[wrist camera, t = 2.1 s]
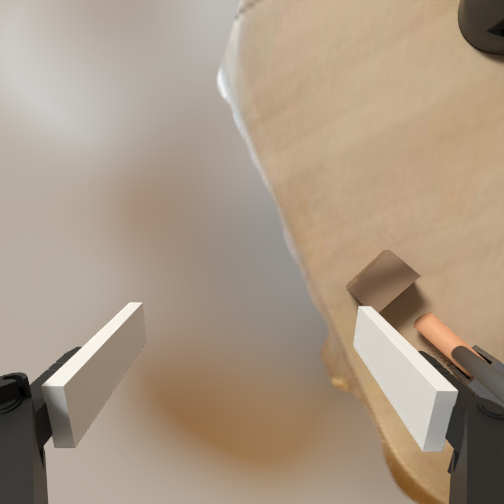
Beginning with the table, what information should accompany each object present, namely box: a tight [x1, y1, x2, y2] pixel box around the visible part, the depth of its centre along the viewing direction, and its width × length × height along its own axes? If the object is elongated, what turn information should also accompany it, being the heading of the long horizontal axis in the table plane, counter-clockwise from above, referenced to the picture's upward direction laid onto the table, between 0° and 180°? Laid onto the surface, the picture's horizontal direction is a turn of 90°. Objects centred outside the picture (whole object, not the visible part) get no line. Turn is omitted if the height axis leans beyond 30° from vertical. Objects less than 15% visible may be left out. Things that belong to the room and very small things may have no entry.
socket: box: [346, 250, 420, 313], centre depth 38 cm, size 5×8×6 cm, turn 136°
